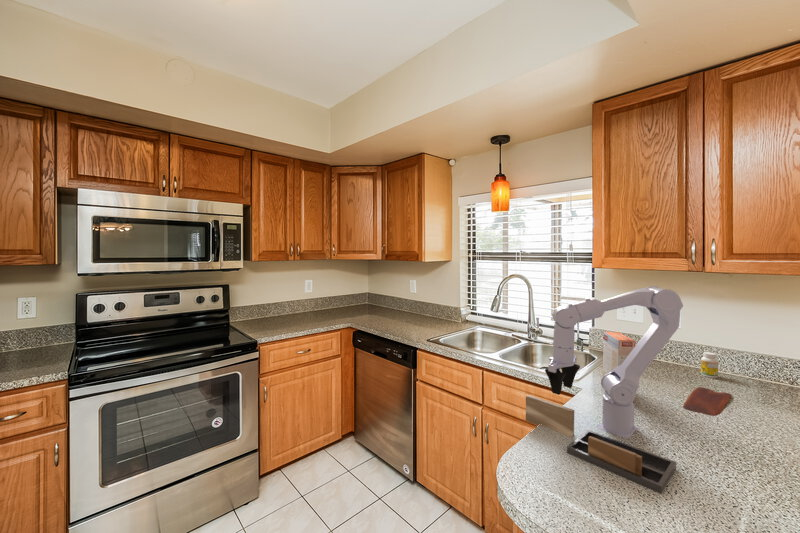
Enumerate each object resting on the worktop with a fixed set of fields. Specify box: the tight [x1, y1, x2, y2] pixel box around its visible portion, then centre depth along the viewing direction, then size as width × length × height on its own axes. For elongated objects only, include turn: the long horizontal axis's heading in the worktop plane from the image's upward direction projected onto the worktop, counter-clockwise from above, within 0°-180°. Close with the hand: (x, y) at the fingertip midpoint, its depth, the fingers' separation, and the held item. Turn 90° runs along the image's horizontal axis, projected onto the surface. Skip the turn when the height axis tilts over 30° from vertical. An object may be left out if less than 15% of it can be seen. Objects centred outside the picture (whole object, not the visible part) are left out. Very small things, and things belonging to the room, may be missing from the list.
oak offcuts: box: [588, 436, 642, 476], centre depth 84 cm, size 3×11×6 cm, turn 40°
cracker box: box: [602, 331, 636, 377], centre depth 130 cm, size 14×6×21 cm, turn 168°
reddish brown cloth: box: [682, 386, 733, 417], centre depth 121 cm, size 27×10×2 cm, turn 129°
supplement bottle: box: [700, 351, 719, 379], centre depth 144 cm, size 5×5×10 cm
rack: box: [566, 429, 677, 494], centre depth 86 cm, size 13×20×2 cm, turn 40°
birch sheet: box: [525, 394, 575, 438], centre depth 103 cm, size 2×14×8 cm, turn 41°
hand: (562, 390), depth 105 cm, fingers open, 7 cm apart
